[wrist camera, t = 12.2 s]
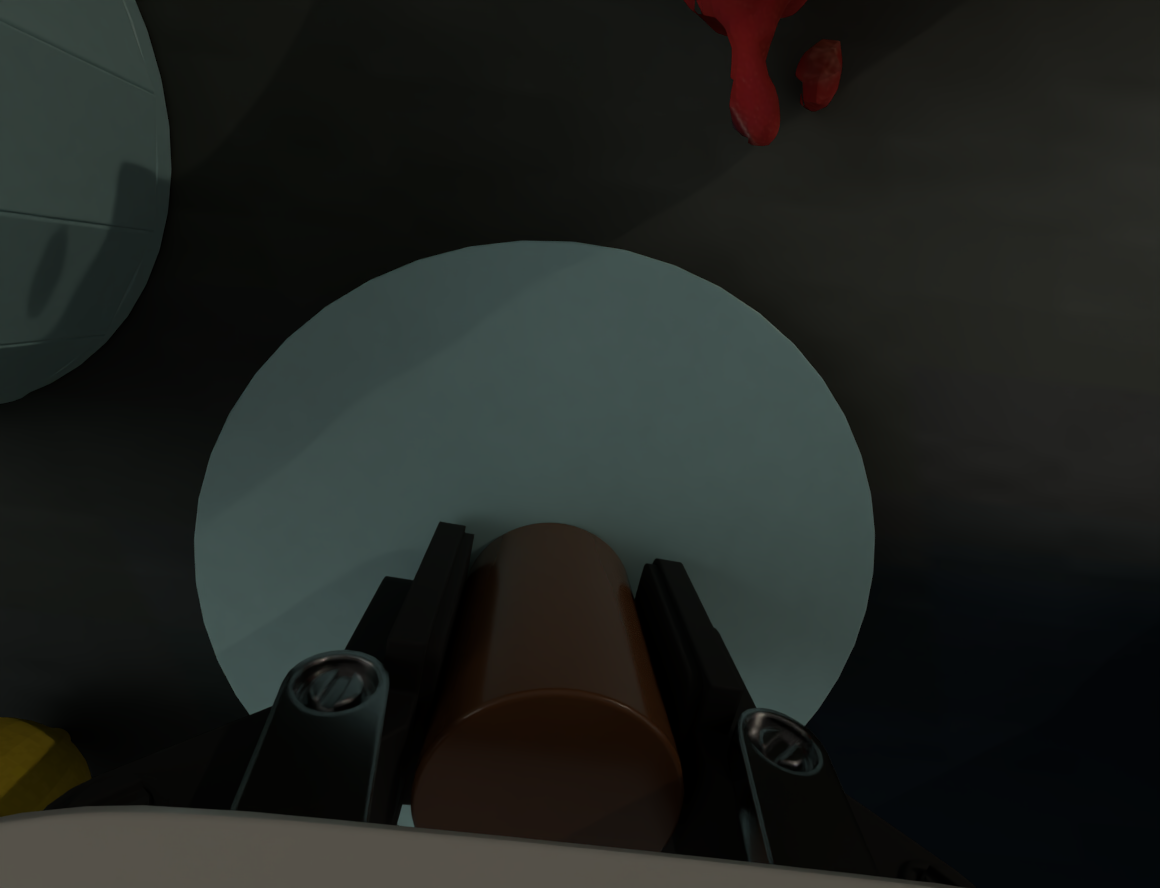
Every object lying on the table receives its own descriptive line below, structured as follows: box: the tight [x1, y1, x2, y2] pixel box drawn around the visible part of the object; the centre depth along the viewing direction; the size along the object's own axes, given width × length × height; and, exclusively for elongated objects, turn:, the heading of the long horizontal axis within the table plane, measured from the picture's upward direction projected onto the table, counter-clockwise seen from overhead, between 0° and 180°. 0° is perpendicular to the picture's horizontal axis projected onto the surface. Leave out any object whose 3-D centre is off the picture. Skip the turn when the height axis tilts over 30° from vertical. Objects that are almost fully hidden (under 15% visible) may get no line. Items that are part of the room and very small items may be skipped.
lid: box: [194, 240, 875, 852], centre depth 10 cm, size 15×15×6 cm
